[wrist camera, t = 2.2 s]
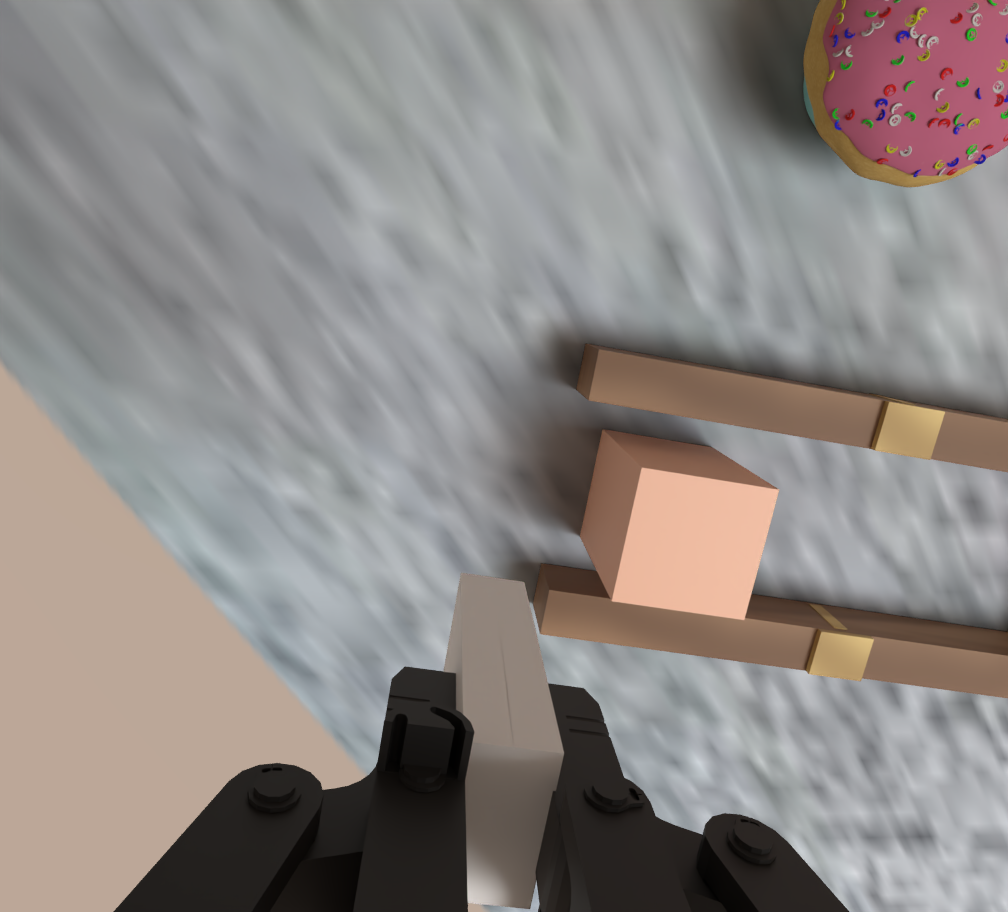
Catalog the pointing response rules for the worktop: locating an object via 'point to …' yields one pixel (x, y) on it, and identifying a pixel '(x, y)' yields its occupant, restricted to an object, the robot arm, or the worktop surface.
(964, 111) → the cupcake
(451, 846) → the robot arm
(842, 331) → the worktop surface
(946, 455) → the slotted beam
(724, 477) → the block
